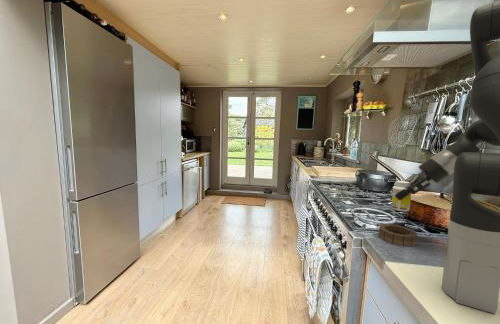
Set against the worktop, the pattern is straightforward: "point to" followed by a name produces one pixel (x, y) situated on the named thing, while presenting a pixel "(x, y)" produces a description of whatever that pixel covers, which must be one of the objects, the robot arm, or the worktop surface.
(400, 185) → the supplement bottle
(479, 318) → the worktop surface
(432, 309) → the worktop surface
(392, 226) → the walnut collar
